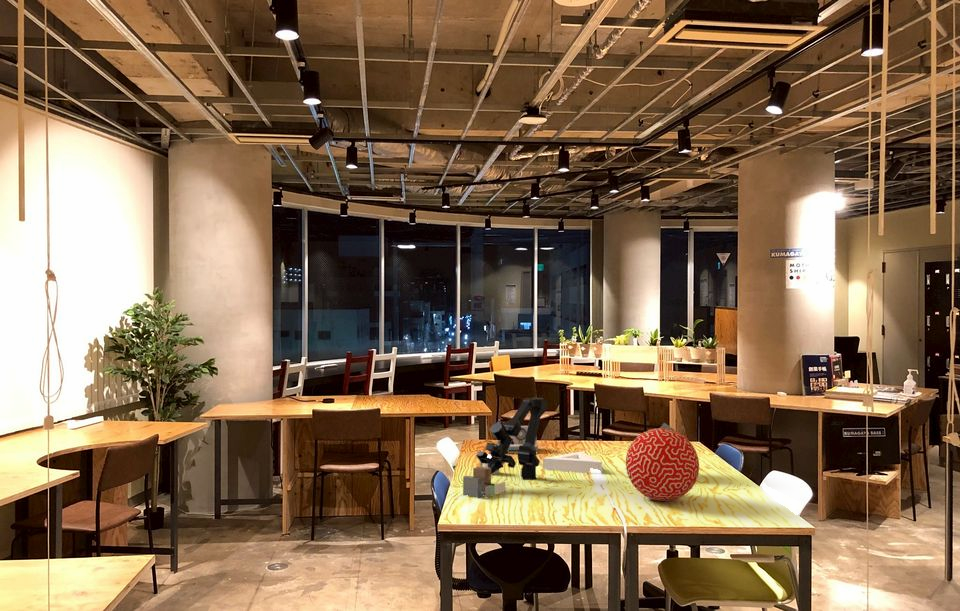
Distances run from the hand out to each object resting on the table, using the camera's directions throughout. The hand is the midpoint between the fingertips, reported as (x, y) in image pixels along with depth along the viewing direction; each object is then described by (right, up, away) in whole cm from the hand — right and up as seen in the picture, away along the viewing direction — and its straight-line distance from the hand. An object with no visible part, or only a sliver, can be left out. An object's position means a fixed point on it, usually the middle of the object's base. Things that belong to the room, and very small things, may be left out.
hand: (487, 474), depth 317 cm
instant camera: (+19, -10, +98) cm, 100 cm away
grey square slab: (-7, -7, -9) cm, 13 cm away
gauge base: (-1, -7, -3) cm, 8 cm away
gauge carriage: (-1, -5, -5) cm, 7 cm away
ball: (+73, -7, -16) cm, 75 cm away
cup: (+1, -8, +37) cm, 38 cm away
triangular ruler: (+47, -9, +53) cm, 71 cm away
